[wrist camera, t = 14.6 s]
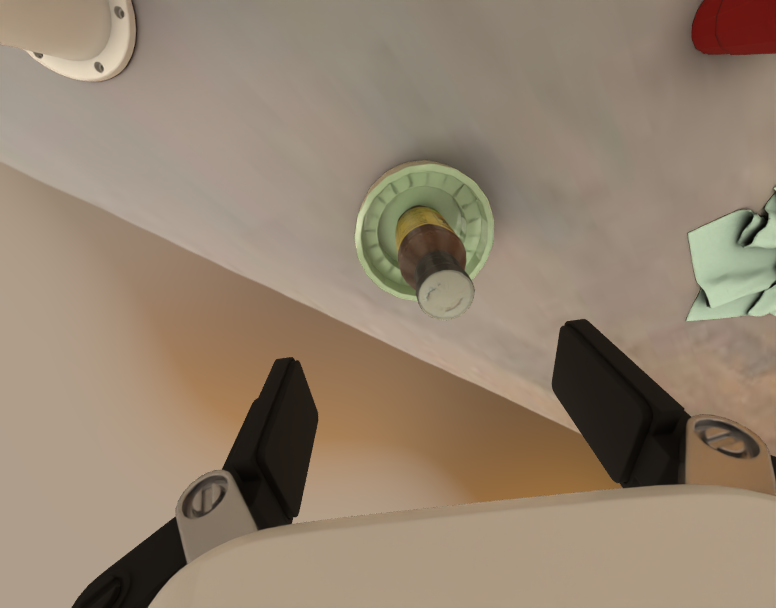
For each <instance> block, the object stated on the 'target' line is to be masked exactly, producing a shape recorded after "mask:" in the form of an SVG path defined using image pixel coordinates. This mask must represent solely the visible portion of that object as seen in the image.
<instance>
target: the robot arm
mask: <svg viewBox="0 0 776 608" xmlns="http://www.w3.org/2000/svg"><path fill="white" fill-rule="evenodd" d="M135 37H136V25H135V15H134V10H133V6H132V2H131V0H0V44H3V45H7V46H11V47H15V48H20V49H24V50H25V51H26V52H27V53H28V54H29V55H30V56H32V57H33V58H34V59H35V60H37V61H38V62H40V63H41V64H42V65H44V66H45V67H47V68H49V69H50V70H52V71H54V72H56V73H58V74H60V75H63V76H66V77H69V78H72V79H77V80H82V81H96V82H99V81H103V80H107V79H110V78H112V77H114V76H116V75H117V74H119V73H120V72H121V71H122V70H123V69H124V68H125V67H126V65H127V64H128V62H129V60H130V58H131V56H132V53H133V49H134V46H135ZM552 388H553V391H554V393H555V395H556V396H557V398H558V399H559V401H560V402H561V404H562V405H563V407H564V408H565V410H566V411H567V413H568V414H569V416H570V417H571V419H572V420H573V422H574V423H575V425H576V426H577V428H578V429H579V431H580V432H581V434H582V435H583V437H584V438H585V440H586V441H587V443H588V444H589V446H590V447H591V449H592V450H593V452H594V453H595V455H596V456H597V458H598V459H599V461H600V462H601V464H602V465H603V467H604V468H605V470H606V471H607V473H608V474H609V475H610V477H611V478H612V480H613V481H615V482H616V483H620V484H621V486H622V487H623V488H622V489H609V490H599V491H588V492H579V493H568V494H558V495H548V496H538V497H528V498H519V499H509V500H499V501H489V502H480V503H470V504H461V505H452V506H442V507H433V508H424V509H414V510H405V511H397V512H387V513H379V514H369V515H361V516H351V517H343V518H335V519H327V520H320V521H312V522H304V523H296V524H292V520H293V517H297V516H298V514H299V510H300V505H301V501H302V496H303V491H304V486H305V482H306V477H307V472H308V467H309V462H310V458H311V453H312V448H313V443H314V438H315V434H316V429H317V424H318V412H317V409H316V406H315V403H314V400H313V397H312V395H311V392H310V389H309V386H308V384H307V381H306V378H305V375H304V373H303V370H302V367H301V364H300V362H299V361H298V360H297V361H295V360H294V358H293V357H289V358H282V359H276V360H275V362H274V364H273V366H272V369H271V371H270V373H269V375H268V378H267V380H266V382H265V384H264V387H263V389H262V391H261V393H260V395H259V398H257V399H256V400H254V402H253V403H252V405H251V408H250V410H249V412H248V414H247V416H246V418H245V421H244V423H243V425H242V427H241V429H240V432H239V434H238V436H237V438H236V440H235V442H234V444H233V447H232V449H231V451H230V453H229V455H228V457H227V460H226V462H225V464H224V466H223V468H222V470H214V471H212V472H208V473H206V474H204V475H202V476H201V477H199V478H198V479H196V480H195V481H194V482H192V483H191V484H190V485H189V487H188V488H187V489H186V490H185V491H184V492H183V494H182V495H181V497H180V499H179V500H178V503H177V506H176V517H174V518H173V519H172V520H170V521H169V522H168V523H166V524H165V525H164V526H163V527H161V528H160V529H159V530H157V531H156V532H155V533H153V534H152V535H151V536H150V537H148V538H147V539H146V540H144V541H143V542H142V543H141V544H139V545H138V546H137V547H135V548H134V549H133V550H132V551H130V552H129V553H128V554H126V555H125V556H124V557H123V558H121V559H120V560H119V561H117V562H116V563H115V564H114V565H112V566H111V567H110V568H108V569H107V570H106V571H104V572H103V573H102V574H101V575H99V576H98V577H97V578H96V579H95V580H94V581H93V582H92V583H90V584H89V585H88V586H87V588H86V589H85V590H84V591H83V592H82V593H81V595H80V596H79V597H78V598H77V600H76V601H75V603H74V605H73V606H72V608H776V457H775V456H772V455H770V452H769V450H768V448H767V445H766V444H765V443H764V442H763V441H762V439H761V438H760V437H759V436H758V435H756V434H755V433H753V432H752V431H751V430H749V429H748V428H746V427H744V426H742V425H741V424H739V423H737V422H734V421H732V420H729V419H726V418H724V417H719V416H715V415H706V414H700V415H695V416H693V417H691V416H690V415H689V414H687V413H686V412H685V411H684V408H683V407H682V406H681V405H680V404H679V403H678V402H677V401H675V400H674V399H673V398H672V397H671V396H670V395H669V394H668V393H667V392H666V391H664V390H663V389H662V388H661V387H660V386H659V385H658V384H657V383H656V382H655V381H654V380H652V379H651V378H650V377H649V376H648V375H647V374H646V373H645V372H644V371H643V370H641V369H640V368H639V367H638V366H637V365H636V364H635V363H634V362H633V361H632V360H630V359H629V358H628V357H627V356H626V355H625V354H624V353H623V352H622V351H621V350H619V349H618V348H617V347H616V346H615V345H614V344H613V343H612V342H611V341H610V340H609V339H607V338H606V337H605V336H604V335H603V334H602V333H601V332H600V331H599V330H598V329H596V328H595V327H594V326H593V325H592V324H591V323H590V322H589V321H587V320H586V319H580V320H573V321H567V322H566V323H565V325H564V326H562V327H561V328H560V332H559V339H558V345H557V352H556V359H555V365H554V372H553V378H552Z"/></svg>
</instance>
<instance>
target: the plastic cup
mask: <svg viewBox="0 0 776 608" xmlns="http://www.w3.org/2000/svg"><path fill="white" fill-rule="evenodd" d="M692 40H693V42H694V45H695V47H696V49H698V50H699V51H701V52H703V53H707V54H730V55H750V54H772V53H776V0H704V1H703V3H702V4H701V6H700V7H699V9H698V10H697V13H696V16H695V19H694V22H693V25H692Z"/></svg>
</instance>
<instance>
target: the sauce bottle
mask: <svg viewBox="0 0 776 608" xmlns="http://www.w3.org/2000/svg"><path fill="white" fill-rule="evenodd" d="M395 237H396V247H397V257H398V262H399V267H400V271H401V275H402V276H403V278H404V280H405V281H406V283H407V284H408V285H409V286H411V287H412V288H413V289H415V290H416V297H417V300H418V303H419V305H420V307H421V309H422V310H423V312H424V313H425V314H427V315H428V316H430V317H432V318H435V319H438V320H450V319H454V318H457V317H459V316H461V315H462V314H464V313H465V312H466V311H467V310H468V309H469V307H470V305H471V303H472V301H473V298H474V291H475V290H474V286H473V283H472V280H471V279H470V277H469V275H468V274H467V273H466V272H465V267H466V250H465V247H464V245H463V243H462V241H461V240H460V238H459V237H458V236H457V234H456V233H455V232H454V231H453V229H452V228H451V227H450V226H449V224H448V223H447V222H446V220H445V219H444V218H443V216H442V215H441V214H440V213H439V212H437V211H436V210H435V209H433V208H430V207H427V206H420V205H418V206H413V207H411V208H410V209H408V210H406V211H405V212H404V213H403V214H402V215H401V216H400V217H399V219H398V222H397V226H396V231H395Z"/></svg>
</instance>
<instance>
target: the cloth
mask: <svg viewBox="0 0 776 608" xmlns="http://www.w3.org/2000/svg"><path fill="white" fill-rule="evenodd" d="M774 189H775V190H776V187H775V188H774ZM764 209H765V210H766V211H767V213H768V214H769V220H768V221H767V220H765V219H764V217H759V215H758V214H756V213H755V212H753V211H751V210H743V209H742V210H738V211H735V212H733V213H730V214H728V215H726V216H723V217H721V218H719V219H717V220H715V221H713V222H711V223H708V224H706V225H704V226H702V227H700V228H698V229H696V230H694V231H691V232H689V233H688V239H689V246H690V252H691V258H692V263H693V268H694V274H695V278H696V281H697V283H698V284H699V285H700V286H701V287H702V288H701V290H700V292H699V294H698V297H697V299H696V300H695V302H694V304H693V306H692V308H691V310H690V312H689V314H688V316H687V319H686V321H695V320H709V319H719V318H728V317H735V316H744V315H752V316H764V315H766V314H768V313H770V314H772V315H774V316H776V192H775V194H774V195H773V196H772V197H771V198H770V200H769V201H768V202H767V204H766V206H765V208H764Z"/></svg>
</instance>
